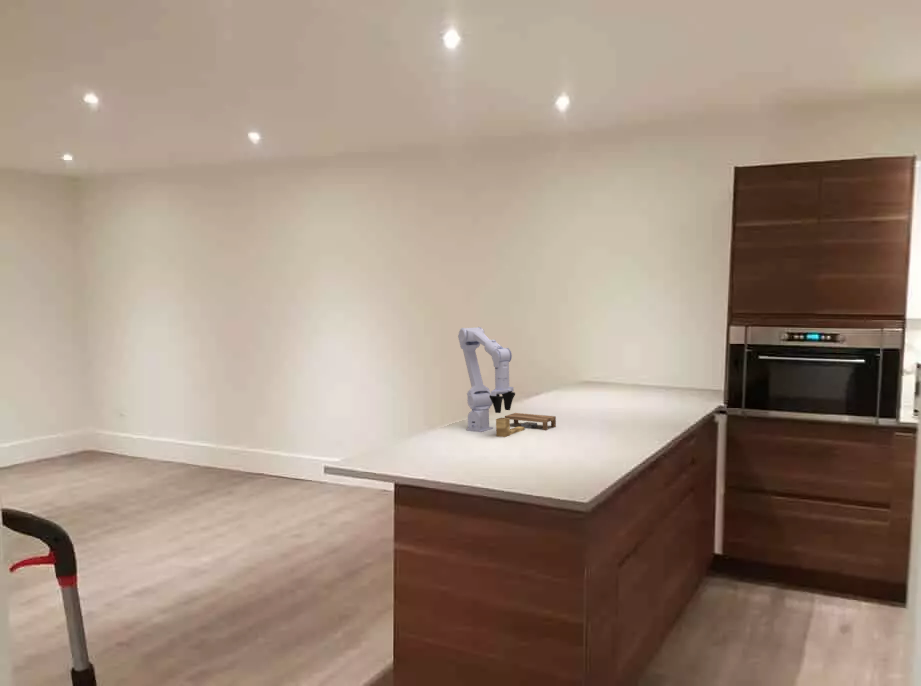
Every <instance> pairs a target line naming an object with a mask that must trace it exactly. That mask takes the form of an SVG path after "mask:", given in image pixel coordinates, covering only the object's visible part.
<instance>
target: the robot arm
mask: <svg viewBox="0 0 921 686" xmlns="http://www.w3.org/2000/svg"><path fill="white" fill-rule="evenodd" d="M457 335H458V336H457V337H458V338H457V339H458V342H459V346H460V349H461V350H462V352H463V356H464V360H465V365H466V370H467V374H468V378H469V382H470V386H471V387H470V389H469V390H468V391H467V393H466V395H467V399H466V400H467V405H468V406H469V408H470V409H471V411H470V412H469V413H468V415H467V428H466V431H470V432H481V433H482V432H486V431H488V430H492V429H494V426H490V409H491V407H492V405H493V408H494V412H495V414H501V413H502V405H504V410H505V411H511V407H512V403H513V400H514V398H515V396H516V392H514V386H510V362H511V361H512V357H513V354H512V351H511V349H510V348H509V347H503V346H502V345H500V344H499V343H498V342H497V340H496V339H490V338H489V337H488V336H487V335H486V334H485V330H484V329H483V328H482V326H478V327H461V328H460V329H459V332H458V334H457ZM480 345H482V346H483V348H484V350H485V352H486V353H488V354H489V355H490V357H491V359H492V363H493V365H492V366H493V367H494V385H495V386H494V387H495V388H494V389H493V390H490V388H489V387H487V386H486V385H485V384H484V381H483V378H482V374H481V373H482V372H481V369H480V365H479V362H478V357H477V352H476V349H478V348H479V347H480Z"/></svg>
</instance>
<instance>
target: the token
mask: <svg viewBox="0 0 921 686" xmlns="http://www.w3.org/2000/svg"><path fill="white" fill-rule="evenodd" d="M520 427H525V429H534V428H536V427H538V422H532V421H524V422H523V423H521V424H520Z"/></svg>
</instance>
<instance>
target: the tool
mask: <svg viewBox="0 0 921 686" xmlns="http://www.w3.org/2000/svg"><path fill="white" fill-rule="evenodd" d="M510 423H511V419H510V418H505V417H499V418H496V419H495V429H496V431H495V432H496V435H495V436H496V437H499V438H502V437H503V438H506V437H509V436H510V435H513V434H516V433H519V432H522V431H525V429H526V428H525V427H521V426H515V427H512V428H511V425H510Z"/></svg>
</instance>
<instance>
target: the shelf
mask: <svg viewBox="0 0 921 686" xmlns="http://www.w3.org/2000/svg"><path fill="white" fill-rule="evenodd" d="M504 418H510V421H511V420H512V421H513V424H514V425H515V424H517V425H518V424H519V421H523V422H534V423H542V430H543V431H548V428H549V427H548V424H549V423H550V427H551V428H556V427H557V425H556V424H557V421H556V420H557V417H556V416H555V415H545V414H544V415H543V414H532V413H521V412H513V413H510V414H507V415H504Z"/></svg>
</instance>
